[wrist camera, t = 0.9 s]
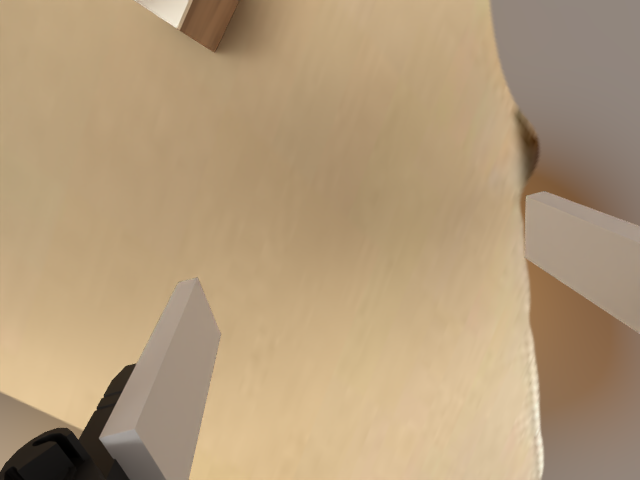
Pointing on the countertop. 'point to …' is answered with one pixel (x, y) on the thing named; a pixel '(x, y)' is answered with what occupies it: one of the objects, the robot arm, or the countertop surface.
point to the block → (195, 17)
